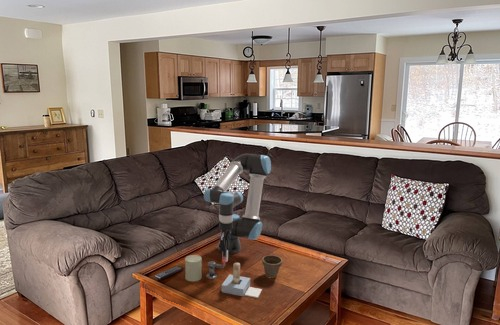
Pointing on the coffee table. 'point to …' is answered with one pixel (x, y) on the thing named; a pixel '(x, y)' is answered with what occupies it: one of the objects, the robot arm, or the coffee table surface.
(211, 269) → the crank post
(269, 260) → the flower pot
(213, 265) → the chrome ball lever
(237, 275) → the dowel
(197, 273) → the can
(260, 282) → the coffee table surface
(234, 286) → the block
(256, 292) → the mat
